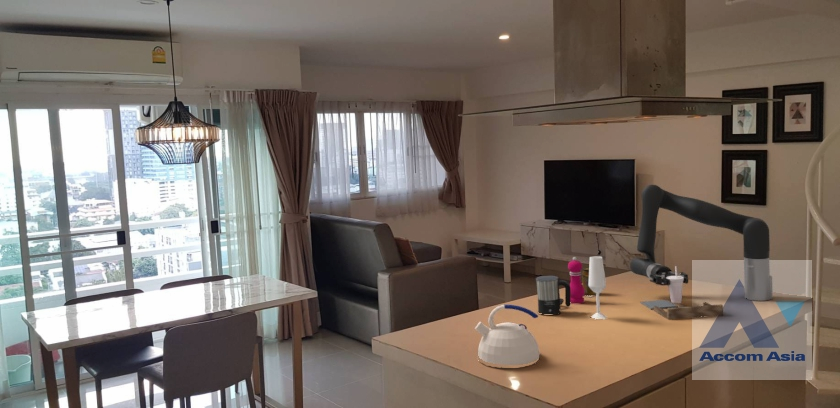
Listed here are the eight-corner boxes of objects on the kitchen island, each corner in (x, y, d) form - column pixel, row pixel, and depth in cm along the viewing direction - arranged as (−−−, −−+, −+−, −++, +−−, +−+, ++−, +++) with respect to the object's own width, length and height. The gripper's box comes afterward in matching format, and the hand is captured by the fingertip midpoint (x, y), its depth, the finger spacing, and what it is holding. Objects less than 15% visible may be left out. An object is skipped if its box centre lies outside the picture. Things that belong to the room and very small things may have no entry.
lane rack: (705, 307, 240) (705, 297, 239) (723, 315, 227) (722, 305, 226) (654, 311, 239) (653, 301, 239) (668, 319, 226) (668, 309, 226)
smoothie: (688, 303, 228) (686, 267, 227) (671, 304, 229) (669, 268, 228) (681, 299, 235) (679, 264, 234) (664, 300, 235) (662, 265, 234)
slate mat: (666, 301, 253) (666, 299, 253) (678, 307, 242) (678, 306, 242) (640, 303, 252) (640, 301, 252) (651, 309, 242) (651, 308, 241)
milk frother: (542, 317, 241) (540, 281, 240) (528, 308, 257) (526, 274, 256) (575, 313, 244) (573, 277, 243) (558, 304, 260) (557, 270, 258)
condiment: (600, 293, 274) (599, 267, 273) (590, 297, 268) (589, 271, 267) (586, 291, 279) (584, 266, 278) (576, 295, 273) (575, 269, 272)
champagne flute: (597, 320, 231) (594, 259, 229) (586, 316, 237) (583, 257, 235) (611, 317, 234) (608, 257, 232) (599, 314, 240) (597, 255, 238)
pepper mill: (587, 300, 262) (585, 255, 261) (582, 304, 256) (580, 258, 255) (571, 299, 266) (569, 255, 265) (566, 303, 260) (563, 258, 259)
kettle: (477, 349, 206) (473, 298, 205) (537, 347, 204) (534, 296, 203) (476, 370, 186) (473, 314, 185) (543, 368, 184) (540, 311, 183)
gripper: (641, 266, 245) (659, 273, 228) (675, 263, 245) (696, 270, 229) (642, 284, 245) (660, 293, 229) (676, 280, 246) (697, 289, 229)
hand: (678, 281), depth 229 cm, fingers closed on smoothie, 6 cm apart
